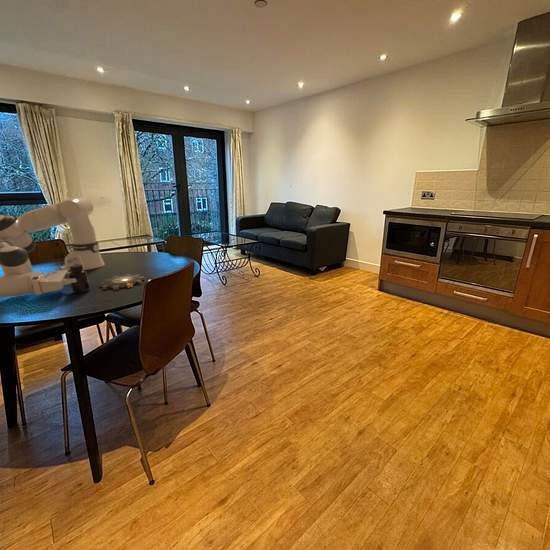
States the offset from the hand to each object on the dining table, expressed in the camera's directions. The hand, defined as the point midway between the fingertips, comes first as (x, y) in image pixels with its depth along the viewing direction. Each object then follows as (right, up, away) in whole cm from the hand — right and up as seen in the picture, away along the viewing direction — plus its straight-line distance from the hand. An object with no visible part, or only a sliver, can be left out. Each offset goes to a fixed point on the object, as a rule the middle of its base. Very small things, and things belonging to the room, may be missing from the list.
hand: (77, 276), depth 131 cm
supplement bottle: (0, -7, +2) cm, 7 cm away
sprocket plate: (+14, -3, +12) cm, 19 cm away
